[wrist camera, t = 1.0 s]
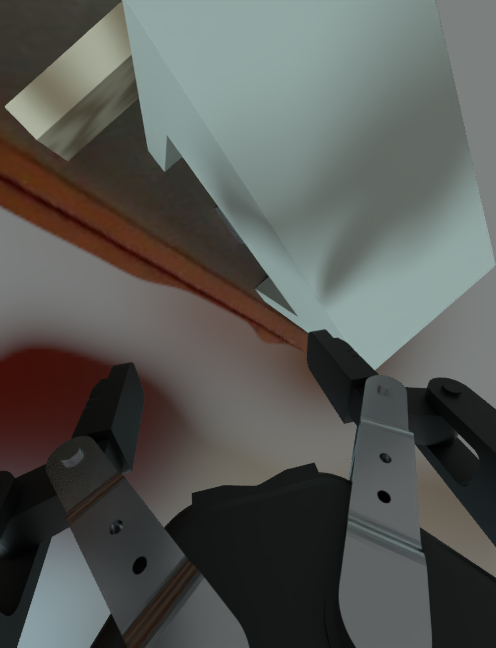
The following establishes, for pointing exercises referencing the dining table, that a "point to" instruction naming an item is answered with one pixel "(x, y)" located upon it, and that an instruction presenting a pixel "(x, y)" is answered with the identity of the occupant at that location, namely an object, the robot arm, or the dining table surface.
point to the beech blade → (81, 89)
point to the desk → (322, 152)
